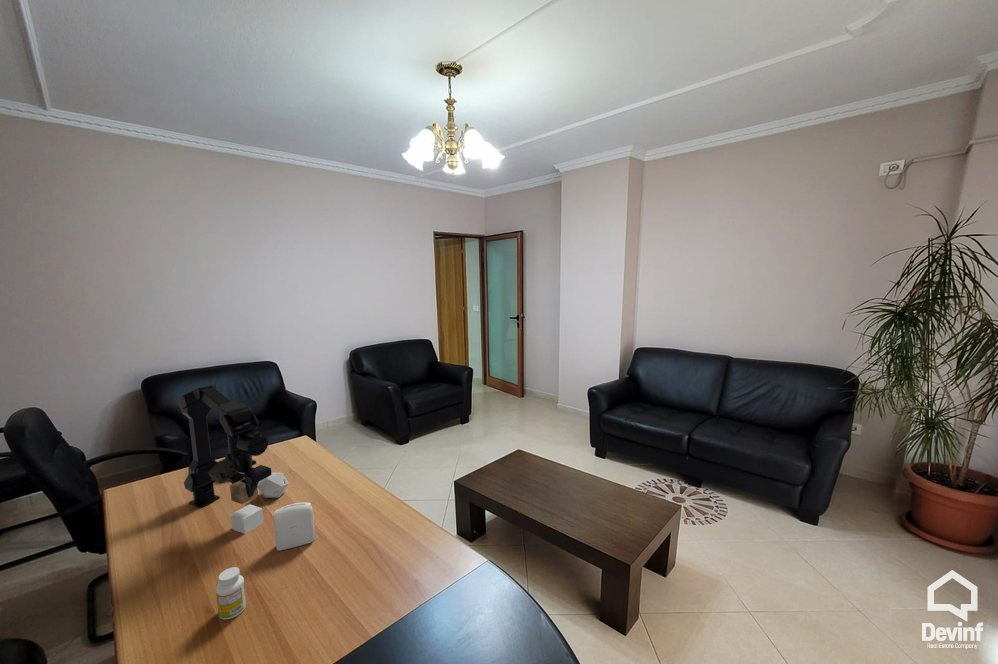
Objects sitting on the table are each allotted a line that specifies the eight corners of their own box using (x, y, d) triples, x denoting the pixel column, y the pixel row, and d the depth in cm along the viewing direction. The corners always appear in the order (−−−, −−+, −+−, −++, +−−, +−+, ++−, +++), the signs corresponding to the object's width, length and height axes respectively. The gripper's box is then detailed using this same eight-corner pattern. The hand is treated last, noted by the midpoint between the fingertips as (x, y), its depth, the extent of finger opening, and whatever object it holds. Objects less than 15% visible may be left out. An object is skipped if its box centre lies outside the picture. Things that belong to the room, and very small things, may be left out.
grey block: (232, 529, 118) (230, 514, 117) (251, 518, 124) (249, 504, 123) (245, 534, 116) (243, 519, 115) (263, 522, 121) (262, 508, 121)
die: (267, 507, 130) (285, 481, 132) (246, 493, 131) (265, 467, 133) (280, 502, 139) (298, 477, 140) (261, 488, 139) (278, 464, 141)
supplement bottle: (228, 601, 92) (224, 565, 90) (251, 599, 92) (247, 564, 91) (213, 621, 86) (208, 583, 85) (238, 619, 87) (234, 581, 86)
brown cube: (231, 500, 117) (229, 485, 116) (247, 492, 121) (246, 477, 121) (242, 504, 115) (240, 489, 114) (258, 495, 120) (256, 480, 119)
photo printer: (274, 553, 108) (271, 513, 106) (276, 543, 112) (273, 505, 110) (315, 543, 112) (312, 504, 110) (315, 534, 116) (312, 497, 114)
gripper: (191, 453, 112) (197, 502, 114) (233, 465, 105) (238, 517, 107) (230, 438, 122) (235, 483, 124) (270, 448, 115) (274, 496, 117)
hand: (244, 494), depth 118 cm, fingers closed on brown cube, 5 cm apart
